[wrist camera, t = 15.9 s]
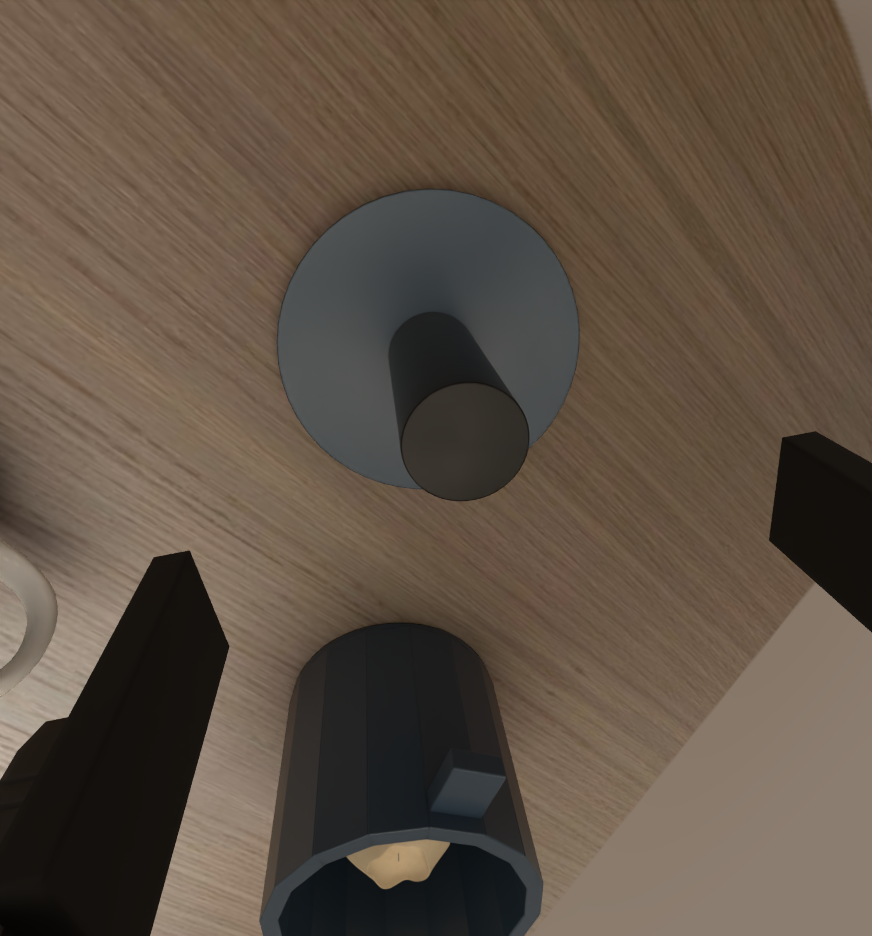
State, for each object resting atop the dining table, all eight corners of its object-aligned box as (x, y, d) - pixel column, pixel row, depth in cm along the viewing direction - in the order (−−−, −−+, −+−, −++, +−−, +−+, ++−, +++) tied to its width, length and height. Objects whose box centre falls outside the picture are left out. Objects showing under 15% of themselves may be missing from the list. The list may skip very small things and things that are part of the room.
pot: (540, 614, 36) (619, 810, 25) (433, 804, 43) (458, 1024, 32) (340, 564, 33) (329, 763, 22) (259, 777, 40) (218, 1012, 29)
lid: (622, 259, 27) (772, 308, 17) (501, 508, 33) (562, 655, 23) (331, 132, 24) (308, 101, 14) (247, 433, 29) (187, 568, 19)
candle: (450, 690, 37) (477, 852, 29) (406, 746, 39) (418, 914, 30) (373, 661, 36) (377, 823, 27) (330, 721, 37) (320, 891, 29)
